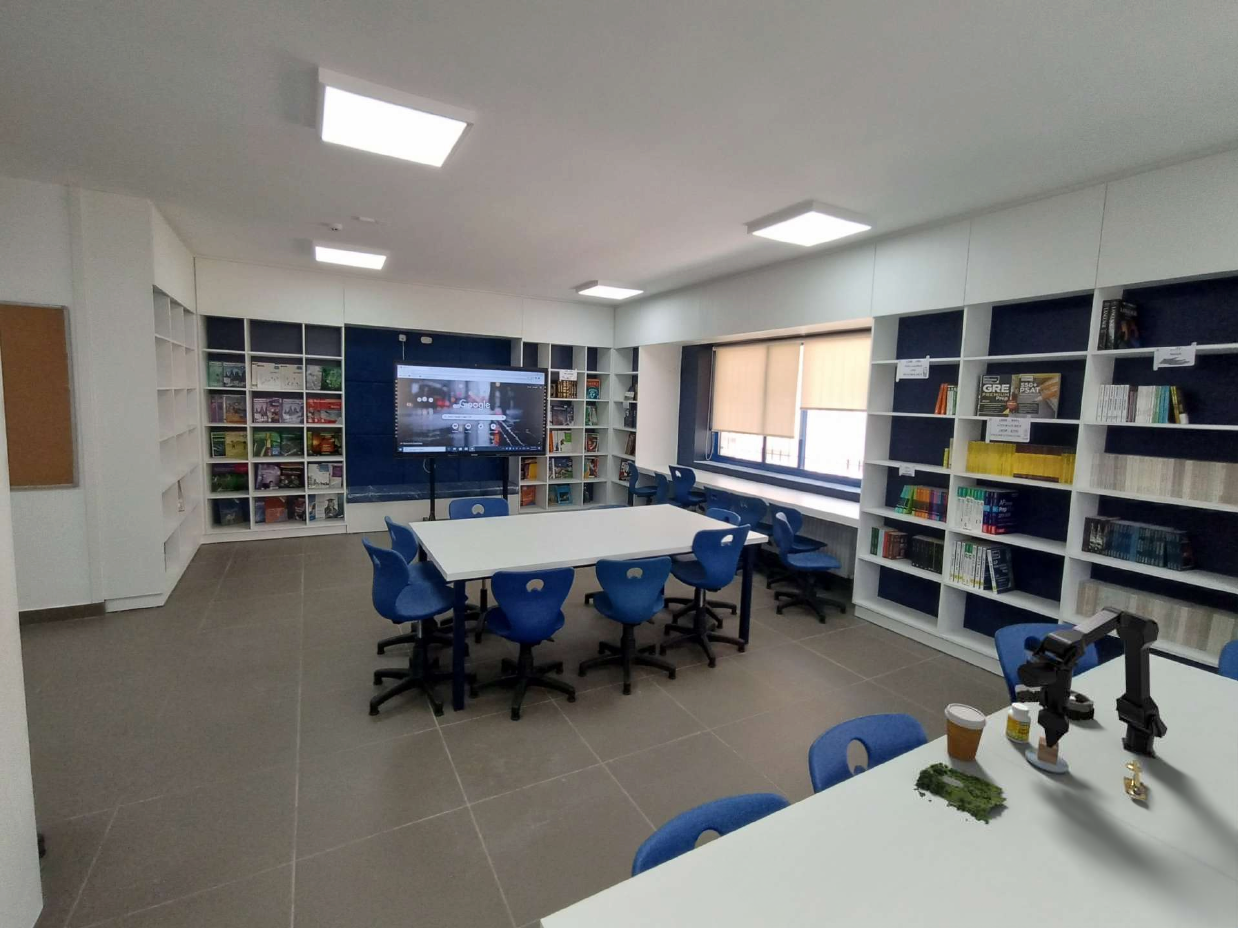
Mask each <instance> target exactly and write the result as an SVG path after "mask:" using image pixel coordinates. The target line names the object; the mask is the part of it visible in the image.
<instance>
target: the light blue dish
mask: <svg viewBox="0 0 1238 928" xmlns="http://www.w3.org/2000/svg"><path fill="white" fill-rule="evenodd" d="M1037 751H1038V747H1031V748H1030V747H1029V748H1027V749H1025V754H1024V755H1025V756H1024V757H1025V758H1026V759H1027V761H1029V762H1030V763H1031V764H1032V765H1034V766H1035V767H1037V768H1040V769H1042V770H1045V771H1048V772H1051V773H1055V774H1063V773H1067V772H1068V770H1069V764H1068V762H1067V761H1066V759H1064V758H1063V757H1061V756H1060V755H1058V758H1057V765H1054V764H1051V763H1048V762H1045V761H1042V760H1039V759H1037Z"/></svg>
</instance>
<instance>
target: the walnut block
mask: <svg viewBox="0 0 1238 928" xmlns="http://www.w3.org/2000/svg"><path fill="white" fill-rule="evenodd" d="M1037 745H1038V746H1037V748H1038V751H1037V759H1039V760H1042V761H1045V762H1048V763H1051V764H1054V765H1057V758H1058V756H1059V750H1060V746H1059V745H1060V744H1059V741H1058V742H1057V743H1056V744H1055V745H1054V746H1053V747H1052V748H1049V747H1047V746H1046V738H1045V737H1043V736H1040V735H1039V739H1038V744H1037Z"/></svg>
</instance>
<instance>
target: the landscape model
mask: <svg viewBox="0 0 1238 928" xmlns="http://www.w3.org/2000/svg"><path fill="white" fill-rule="evenodd" d="M913 786H915V787H916V788H913V791H918V795H919V797H921V798H924V797H926V793H925V792H928V791H929V793H930V794H933V795H936V796H938V797H940V798H941V799H943V800H944V801H946V802H947V804H946V805H945V806H946V807H948V808H949V807H952V808H956V810H958V811H959V812H960V813H962V812H965V813H967V814H969V816H971V817H972V818H974V819H975V820H976V821H978V822H981V821H983V822H984V823H985V824H988V823H989V814H988V812H989V811H990V810H991V808H992V807H994V806H996V805H995V804H997V805H1000V804H1003V803H1004V802H1005V801H1007V798H1006V797H1002V796H1001V795H1000V794H999V793H1001V790H1003V788H1001V786H1000V787H999V785H995V784H994V783H991V782H989V781H987V780H985V779H983V778H981V777H979V776H976V775H975V774H970V775H969V774H968V773H966V771H965V770H963V771H958V769H955V768H953V767H950V768H949V765H947V764H946V763H945V764H944V763H943V762H939V763H938V762H937V763H934V764H930V765H929V766H928V767H926V768H924V769H921V770H920V772H919V776H918V778H917V779H916V783H915V784H913ZM920 789H922V790H924V791H925V792H922V791H920ZM929 798H931V796H929ZM927 802H930V803H931V802H933V801H932V800H931V799H928V801H927ZM965 821H967V822H968V818H967V819H965Z"/></svg>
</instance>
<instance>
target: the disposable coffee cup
mask: <svg viewBox="0 0 1238 928" xmlns="http://www.w3.org/2000/svg"><path fill="white" fill-rule="evenodd" d="M944 714H945V717H946V741H947V742H946V747H947V749H946V750H947V753H948V754H949V755H950V756H951V757H952V758H954V759H956V760H959V761H963V762H967V763H968V762H970V763H971V762H974V761H975V759H976V756H977V753H978V749H979V746H980V743H981V739H982V735H983V732H984V730H985V729H984V728H985V727H986V726H987V720H986V715H985V714H984V713H983V712H982V711H980V710H979V709H976V708H974V707H972V706H970V705H966V704H962V703H950V704H948V705H947V707H946V708H945V709H944Z"/></svg>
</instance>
